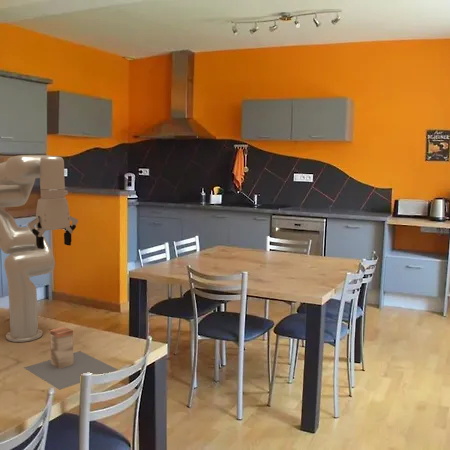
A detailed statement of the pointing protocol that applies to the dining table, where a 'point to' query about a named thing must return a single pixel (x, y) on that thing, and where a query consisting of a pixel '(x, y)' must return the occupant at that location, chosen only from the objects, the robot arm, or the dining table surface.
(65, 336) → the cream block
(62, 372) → the mat
